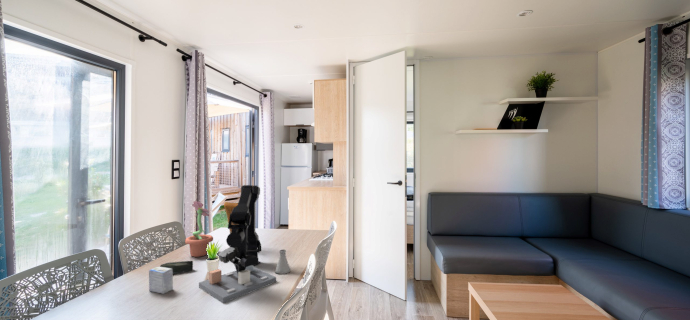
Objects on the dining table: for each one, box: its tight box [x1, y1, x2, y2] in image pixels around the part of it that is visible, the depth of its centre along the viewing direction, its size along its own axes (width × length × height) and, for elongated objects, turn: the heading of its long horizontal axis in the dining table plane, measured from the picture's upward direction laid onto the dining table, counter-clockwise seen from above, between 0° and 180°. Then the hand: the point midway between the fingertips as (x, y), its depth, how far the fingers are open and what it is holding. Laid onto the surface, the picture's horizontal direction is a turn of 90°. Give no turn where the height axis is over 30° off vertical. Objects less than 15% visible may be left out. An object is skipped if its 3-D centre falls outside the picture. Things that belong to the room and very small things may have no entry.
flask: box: [274, 249, 291, 275], centre depth 137 cm, size 7×7×10 cm
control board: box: [198, 266, 277, 304], centre depth 123 cm, size 20×24×3 cm
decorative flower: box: [185, 200, 214, 258], centre depth 159 cm, size 15×14×30 cm
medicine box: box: [148, 266, 174, 295], centre depth 117 cm, size 8×4×9 cm, turn 71°
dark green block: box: [159, 260, 194, 274], centre depth 135 cm, size 5×3×15 cm
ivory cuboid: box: [238, 269, 250, 285], centre depth 120 cm, size 2×4×4 cm, turn 140°
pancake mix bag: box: [223, 201, 238, 234], centre depth 167 cm, size 7×19×28 cm, turn 49°
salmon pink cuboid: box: [208, 268, 222, 284], centre depth 120 cm, size 2×4×4 cm, turn 140°
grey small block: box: [245, 265, 254, 271], centre depth 131 cm, size 2×4×4 cm, turn 140°
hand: (240, 277), depth 122 cm, fingers closed
